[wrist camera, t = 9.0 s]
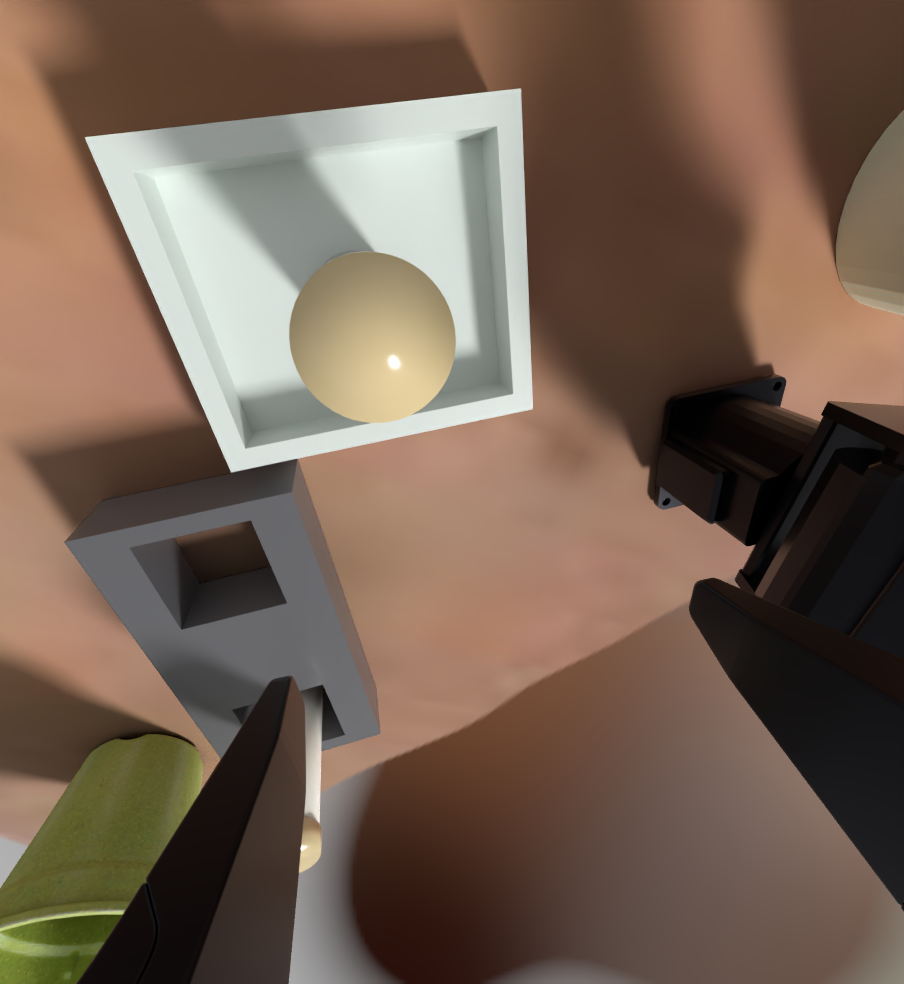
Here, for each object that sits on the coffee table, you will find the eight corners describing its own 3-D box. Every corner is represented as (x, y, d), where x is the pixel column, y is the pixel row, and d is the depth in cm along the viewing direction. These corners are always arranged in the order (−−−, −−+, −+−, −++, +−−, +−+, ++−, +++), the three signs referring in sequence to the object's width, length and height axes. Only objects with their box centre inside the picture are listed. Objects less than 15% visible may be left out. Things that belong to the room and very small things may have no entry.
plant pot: (176, 821, 30) (123, 1015, 22) (13, 788, 25) (-122, 1018, 18) (265, 741, 28) (240, 923, 20) (107, 690, 23) (0, 900, 16)
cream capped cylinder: (391, 240, 16) (443, 239, 8) (407, 334, 17) (464, 406, 10) (299, 254, 15) (264, 267, 8) (325, 349, 17) (316, 436, 9)
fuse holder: (297, 459, 19) (291, 492, 17) (376, 688, 28) (380, 733, 25) (101, 500, 18) (64, 541, 16) (243, 725, 27) (234, 777, 24)
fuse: (316, 648, 25) (308, 828, 17) (331, 684, 27) (330, 863, 19) (258, 664, 25) (223, 855, 17) (277, 699, 26) (253, 888, 19)
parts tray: (497, 108, 15) (520, 88, 13) (513, 393, 20) (532, 409, 18) (120, 152, 14) (84, 136, 12) (242, 448, 19) (231, 472, 17)
